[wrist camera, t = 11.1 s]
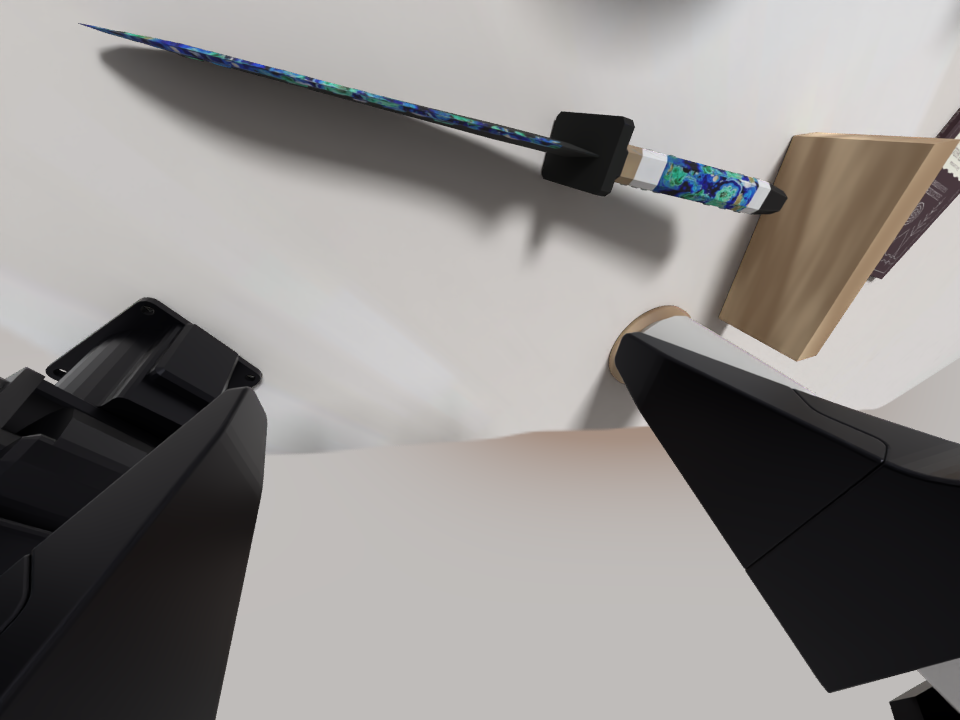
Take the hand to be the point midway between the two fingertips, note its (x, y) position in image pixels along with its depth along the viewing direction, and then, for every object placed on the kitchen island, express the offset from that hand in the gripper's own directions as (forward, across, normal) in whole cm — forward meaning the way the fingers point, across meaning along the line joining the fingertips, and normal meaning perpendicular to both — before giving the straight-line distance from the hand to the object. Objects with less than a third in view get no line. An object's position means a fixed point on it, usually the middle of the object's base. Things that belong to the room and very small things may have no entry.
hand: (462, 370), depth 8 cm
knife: (+13, -5, -4) cm, 15 cm away
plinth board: (+14, -28, +3) cm, 31 cm away
